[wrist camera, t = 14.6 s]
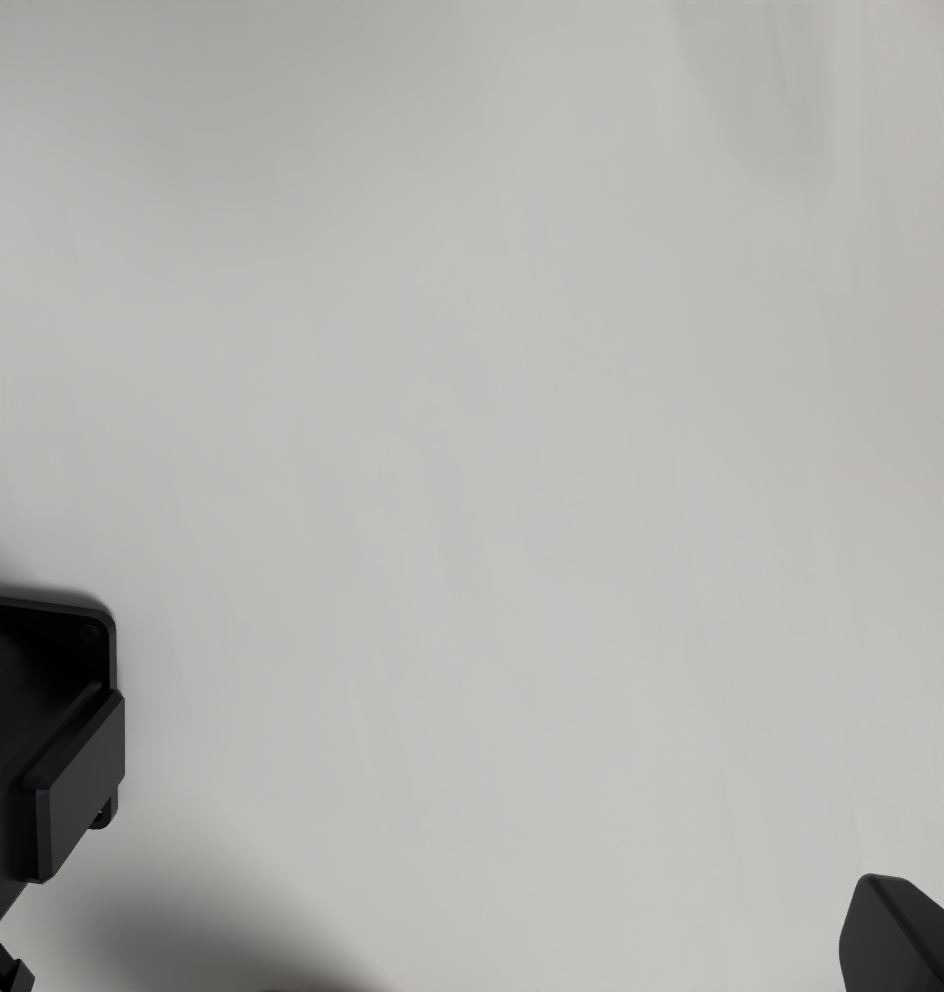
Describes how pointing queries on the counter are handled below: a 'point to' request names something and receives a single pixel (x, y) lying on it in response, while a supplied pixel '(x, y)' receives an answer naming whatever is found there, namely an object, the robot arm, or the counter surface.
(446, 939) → the counter surface
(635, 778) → the counter surface
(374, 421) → the counter surface
